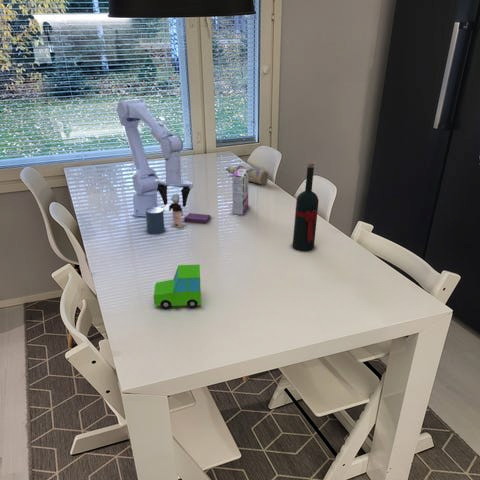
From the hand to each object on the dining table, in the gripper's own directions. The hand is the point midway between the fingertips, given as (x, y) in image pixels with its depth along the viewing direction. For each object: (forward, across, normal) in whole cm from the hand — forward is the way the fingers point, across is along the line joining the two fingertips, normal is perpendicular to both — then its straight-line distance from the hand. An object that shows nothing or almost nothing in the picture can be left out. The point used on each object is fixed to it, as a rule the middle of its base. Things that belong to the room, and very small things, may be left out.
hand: (175, 205), depth 188 cm
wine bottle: (+8, +52, -10) cm, 54 cm away
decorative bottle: (+9, +15, +70) cm, 72 cm away
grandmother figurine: (+9, 0, 0) cm, 9 cm away
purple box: (+8, +6, +8) cm, 13 cm away
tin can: (+8, -6, -8) cm, 13 cm away
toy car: (+8, +20, -58) cm, 62 cm away
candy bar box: (+8, +21, +23) cm, 33 cm away
